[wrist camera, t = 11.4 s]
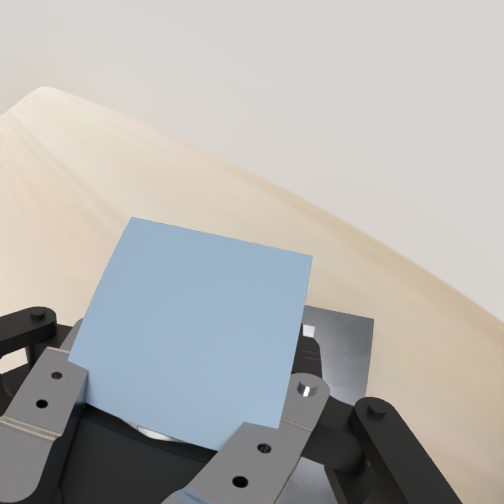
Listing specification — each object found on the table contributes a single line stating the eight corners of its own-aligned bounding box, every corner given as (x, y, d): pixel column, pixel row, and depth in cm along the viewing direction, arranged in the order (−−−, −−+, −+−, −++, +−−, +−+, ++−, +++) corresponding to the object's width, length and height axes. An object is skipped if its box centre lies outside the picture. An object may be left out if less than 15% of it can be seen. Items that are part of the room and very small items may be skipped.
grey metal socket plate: (367, 325, 19) (386, 306, 17) (333, 508, 13) (350, 521, 11) (133, 271, 21) (118, 246, 18) (74, 435, 15) (47, 434, 12)
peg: (272, 356, 16) (312, 256, 7) (252, 440, 13) (269, 462, 5) (188, 335, 16) (131, 217, 8) (163, 415, 14) (58, 388, 5)
